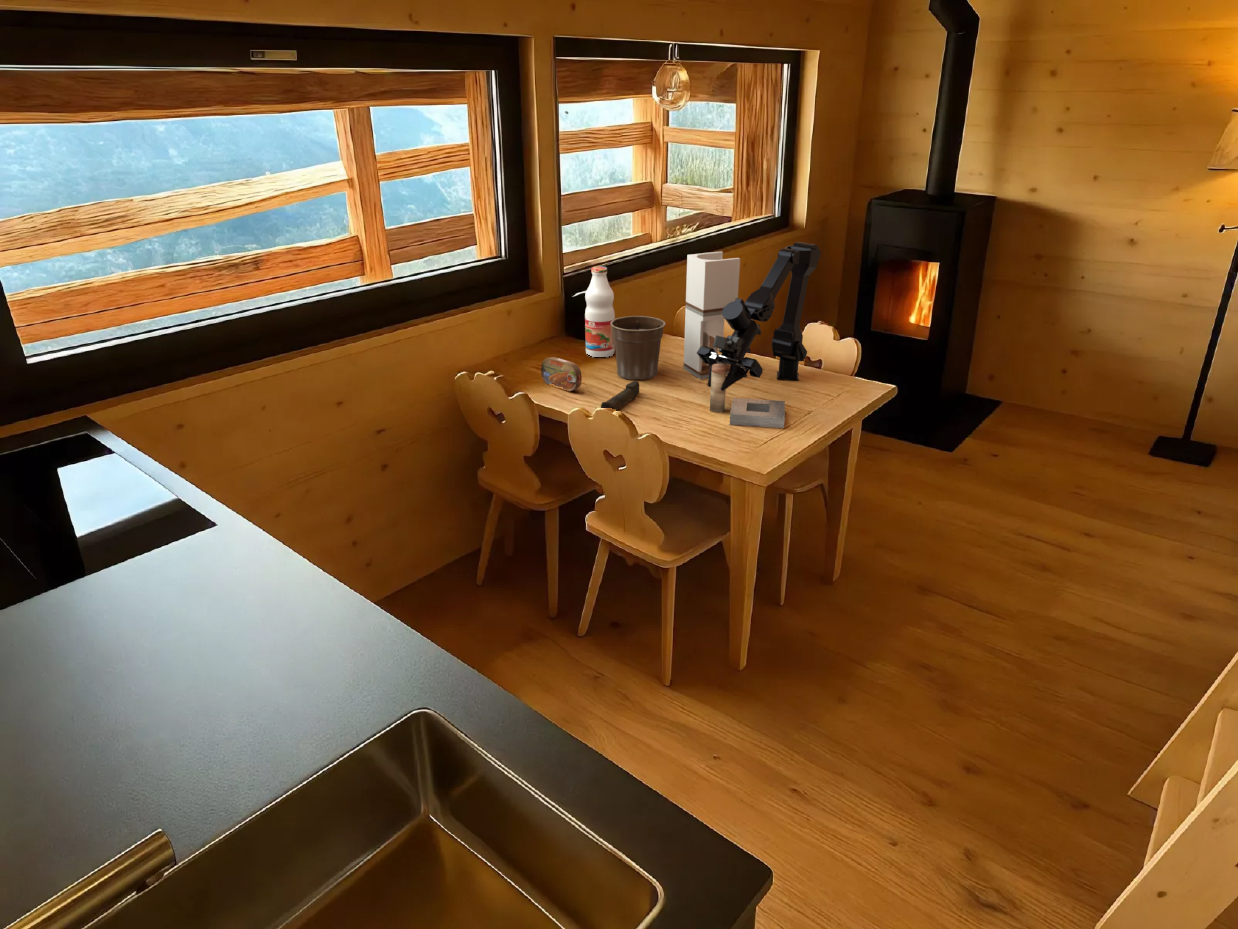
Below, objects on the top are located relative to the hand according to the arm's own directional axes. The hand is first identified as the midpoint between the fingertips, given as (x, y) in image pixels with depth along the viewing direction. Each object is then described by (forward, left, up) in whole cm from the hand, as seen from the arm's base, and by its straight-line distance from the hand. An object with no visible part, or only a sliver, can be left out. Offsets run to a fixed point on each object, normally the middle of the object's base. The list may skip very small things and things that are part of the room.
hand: (715, 388), depth 227 cm
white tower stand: (-32, -4, -7) cm, 33 cm away
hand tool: (-1, -26, -7) cm, 27 cm away
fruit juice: (-43, -40, -7) cm, 59 cm away
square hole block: (+3, +12, -7) cm, 14 cm away
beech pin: (-1, +1, -7) cm, 7 cm away
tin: (-11, -45, -7) cm, 47 cm away
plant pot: (-26, -25, -7) cm, 37 cm away
